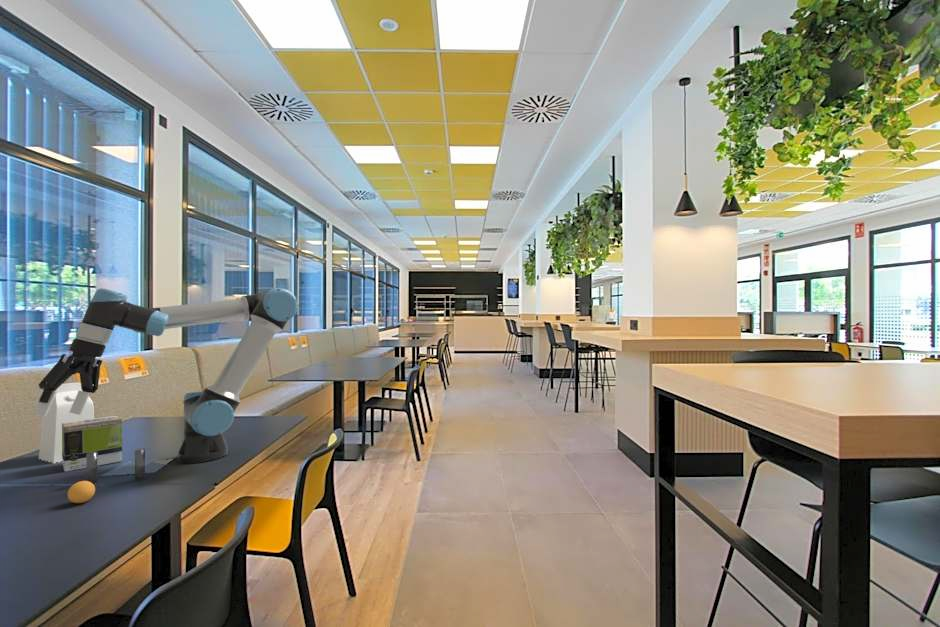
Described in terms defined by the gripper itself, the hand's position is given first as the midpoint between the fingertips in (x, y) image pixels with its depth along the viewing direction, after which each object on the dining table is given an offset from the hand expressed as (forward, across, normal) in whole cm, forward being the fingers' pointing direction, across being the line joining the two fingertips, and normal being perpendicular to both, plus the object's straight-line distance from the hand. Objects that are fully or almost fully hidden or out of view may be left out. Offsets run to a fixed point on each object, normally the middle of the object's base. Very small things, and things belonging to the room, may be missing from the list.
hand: (58, 414), depth 125 cm
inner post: (+15, -11, +22) cm, 29 cm away
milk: (+21, -43, -17) cm, 51 cm away
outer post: (+18, -11, +10) cm, 23 cm away
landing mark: (+14, -25, +15) cm, 32 cm away
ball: (+16, +6, +16) cm, 24 cm away
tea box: (+19, -32, -3) cm, 37 cm away
